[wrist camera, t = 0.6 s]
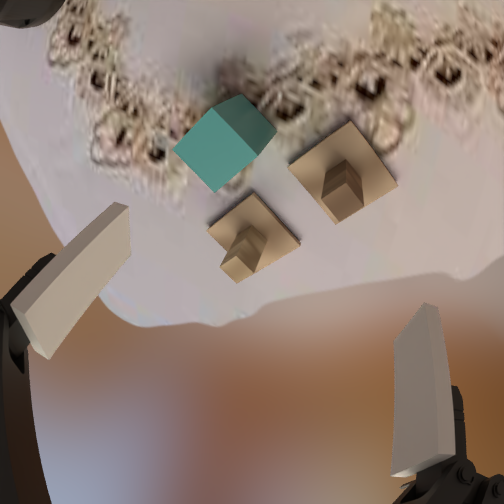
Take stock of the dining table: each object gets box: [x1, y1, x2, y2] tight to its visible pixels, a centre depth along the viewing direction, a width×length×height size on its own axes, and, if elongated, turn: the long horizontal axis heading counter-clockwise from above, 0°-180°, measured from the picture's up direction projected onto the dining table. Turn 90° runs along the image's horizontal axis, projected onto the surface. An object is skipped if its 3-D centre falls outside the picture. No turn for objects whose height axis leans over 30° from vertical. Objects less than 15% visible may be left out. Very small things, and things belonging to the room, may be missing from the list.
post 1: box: [207, 193, 301, 283], centre depth 35 cm, size 8×8×7 cm
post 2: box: [287, 120, 398, 225], centre depth 28 cm, size 8×8×7 cm
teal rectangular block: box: [172, 94, 277, 193], centre depth 27 cm, size 5×5×8 cm
